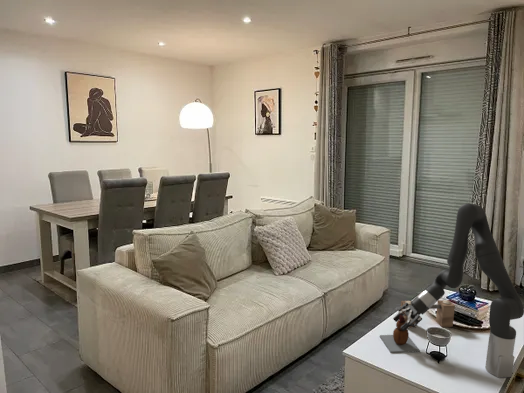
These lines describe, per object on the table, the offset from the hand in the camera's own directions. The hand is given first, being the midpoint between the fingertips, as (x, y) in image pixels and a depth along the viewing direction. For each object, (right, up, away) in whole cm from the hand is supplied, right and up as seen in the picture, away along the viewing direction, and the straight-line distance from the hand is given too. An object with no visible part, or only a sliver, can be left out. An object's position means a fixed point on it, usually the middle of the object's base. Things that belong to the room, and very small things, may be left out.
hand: (398, 324), depth 184 cm
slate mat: (+1, -10, +2) cm, 10 cm away
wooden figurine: (+1, -9, +1) cm, 9 cm away
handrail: (+22, -7, +21) cm, 31 cm away
